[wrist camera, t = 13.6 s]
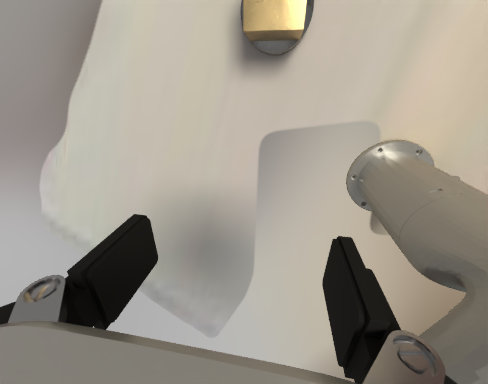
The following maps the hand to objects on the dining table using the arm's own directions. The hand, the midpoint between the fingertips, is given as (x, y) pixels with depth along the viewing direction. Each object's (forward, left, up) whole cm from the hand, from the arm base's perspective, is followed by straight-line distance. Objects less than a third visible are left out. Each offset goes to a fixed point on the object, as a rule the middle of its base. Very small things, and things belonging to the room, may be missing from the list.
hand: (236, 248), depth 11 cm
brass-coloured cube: (0, -16, -26) cm, 30 cm away
